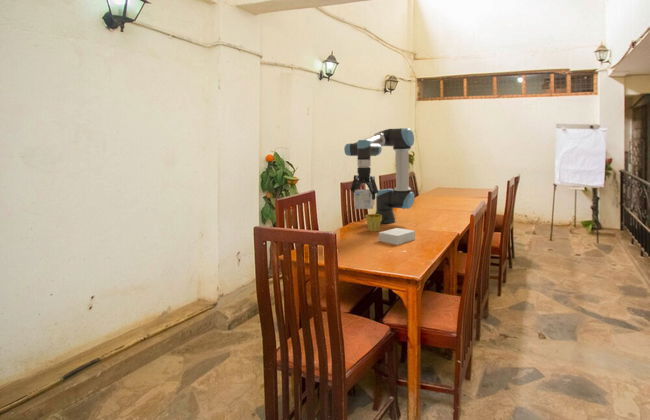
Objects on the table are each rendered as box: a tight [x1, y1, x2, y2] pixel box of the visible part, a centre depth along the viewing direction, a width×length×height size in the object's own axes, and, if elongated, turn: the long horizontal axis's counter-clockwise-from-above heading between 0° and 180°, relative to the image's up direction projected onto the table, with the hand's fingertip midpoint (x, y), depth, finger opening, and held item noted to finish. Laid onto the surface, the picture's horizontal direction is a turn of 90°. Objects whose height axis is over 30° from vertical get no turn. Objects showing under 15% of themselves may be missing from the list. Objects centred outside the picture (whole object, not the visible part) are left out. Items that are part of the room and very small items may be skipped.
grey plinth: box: [378, 227, 416, 246], centre depth 230 cm, size 13×17×5 cm
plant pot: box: [365, 213, 382, 232], centre depth 257 cm, size 10×10×10 cm
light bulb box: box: [354, 189, 374, 210], centre depth 234 cm, size 11×7×11 cm, turn 84°
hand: (364, 204), depth 234 cm, fingers closed on light bulb box, 12 cm apart
